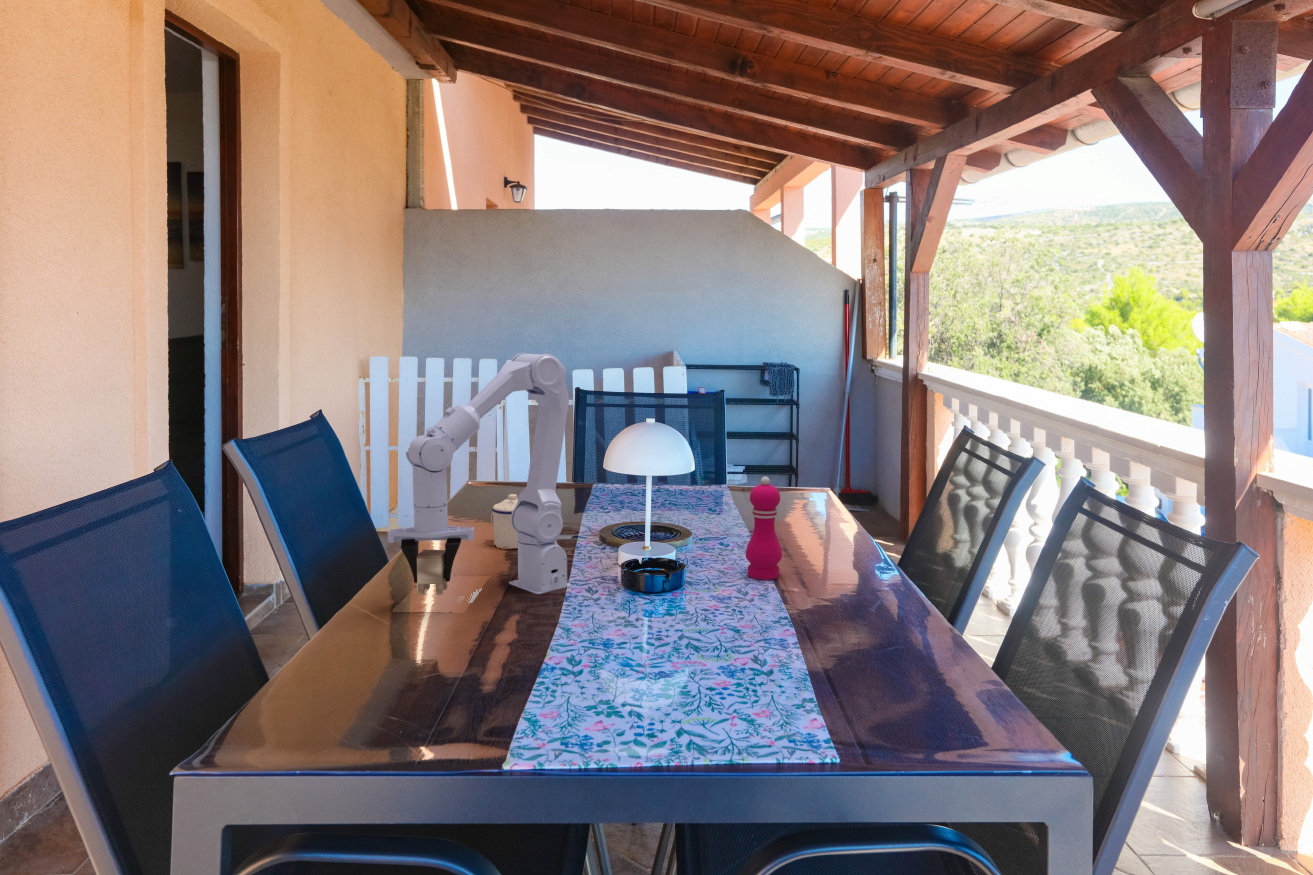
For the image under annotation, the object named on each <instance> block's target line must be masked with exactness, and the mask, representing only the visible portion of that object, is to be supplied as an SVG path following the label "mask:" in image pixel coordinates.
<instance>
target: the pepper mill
mask: <svg viewBox="0 0 1313 875" xmlns="http://www.w3.org/2000/svg"><path fill="white" fill-rule="evenodd" d="M760 483H761V484H758V485H755V486H754V487H753V488H752V489H751V491H750V494H749V501H750V504H751V505H752V506H753V508H752V509H751V511H752V512H751V516H752V517H753V521H754V525H753V532H752V534H751V536H750V539H749V541H748V542H747V545H746V548H745V558H746V560H747V561H748V562H749V564H748V566H747V576H748V577H749V578H750V579H751V578H752V579H755V580H761V581H764V580H766V581H769V580H770V581H771V580H774V579H777V578H779V577H780V567H779V566H778V563H780V561H781V560H782V558H783V551H782V546H781V544H780V540H779V539H778V537H777V532H776V528H775V526H776V525H775V521H776V517H778V509H777V507H778V505H779V504H780V502H781V493H780V491H779V490H778V488H777V487H775V486H774V485H772V484H771V482H770V478H769V477H768V476H762V478H761V479H760Z"/></svg>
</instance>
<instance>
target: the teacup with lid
mask: <svg viewBox="0 0 1313 875" xmlns="http://www.w3.org/2000/svg"><path fill="white" fill-rule="evenodd" d="M517 502H518V495H517V494H515V493H510V494H509V495H507V498H506V499H504V500H502V501H501V502H499V503H496V504H494V505H493V506H492V513H491V515H490V521H491V526H492V528H493V546H494V545H496V546H498V547H501V548H518V538H517V531H515V530H514V528H513V527H512V524H511V514H512V511H513V509H514V508H515V506H516V504H517Z"/></svg>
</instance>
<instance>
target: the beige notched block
mask: <svg viewBox="0 0 1313 875" xmlns="http://www.w3.org/2000/svg"><path fill="white" fill-rule="evenodd" d="M445 576H446V553H445V549H423V550H421V551H420V552H418V555H417V583H416V585H417V591H418V595H424V594H425V590H429V588H430V584H436V595H441V596H442V594H443V590H447V589H448V582H446V577H445Z"/></svg>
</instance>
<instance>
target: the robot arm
mask: <svg viewBox="0 0 1313 875" xmlns="http://www.w3.org/2000/svg"><path fill="white" fill-rule="evenodd" d="M566 372H567V369H566V368H565V366H564V365H563V364H562V363H561V361H560V359H559V358H557V357H556V356H554V355H552V354H551V353H546V354H545V353H543V354H537V353H528V352H519V353H517V354H516V355H514V356H513V357H512V358H511V360H509V361H507V362H506V363H504V365H503V366H502V367H501V369H500V371H499V372H498V373H497V374H496V375H495V376H494V377H493V378H492V379H491V380H490V381H489V382H488V383H487V384H486V385H485V386H484V387H483V388H482V389H481V390H480V391H479V392H478V393H477V394H476V395H475V396H474V397H473V398H472V399H471V400H470V401H469V402H468V403H467V404H466V405H461V404H458V405H455V406H454V407H452V406H450V407H448V408H447V409H446V410H445V416H443V417H442V418H441V419H440V420H439V421H438V422H437V423H435V424H434V425H433V426H429V427H427V428H426V429H425V432H426V434H422V435H418V436H416V437H415V438H413V439H412V440H411V442H410V443H409V447H408V448H407V450H406V452H405V456H406V460H407V461H408V463H410V464H411V466H412V494H413V495H412V497H413V498H412V499H413V502H412V504H413V527H403V528H396V529H395V528H392V529H390V528H389V530H388V531H387V543H390V544H391V543H395V542H401V545H400V549H401V552H402V553H403V555H404V556H405V559H406V561H407V562H408V565H409V567H410V570H411V574H412V578H413V583H415V584H417V555H418V554H419V547H420V546H419V545H420V544H419V542H423V541H424V542H425V541H426V542H427V541H430V542H431V541H445V543H444V550H445V553H446V576H445V577H446V582H450V579H451V575H452V570H453V566H454V561H455V558H456V556H457V553H458V550H459V548H460V546H461V543H462V540H467V541H474V540H475V527H474V526H454V525H453V526H450V525H449V523H448V522H449V516H448V514H449V512H448V479H447V478H448V476H447V475H448V474H447V467H449V466H450V464H451V463H452V461H453V457H454V453H455V452H456V451H457V450H459V449H460V447H461V446H463V445H464V444H465V443H466V442H467V441H468V440H469V439H470V438H471V437H472V436H473V435H474V434H476V432H478V431H479V430H480V425H481V424H480V423H481V419H482V418H483V417H485V415H487V414H488V413H490V412H491V410H493V409H494V408H495V407H496V406H498V405H499V404H500V403H501V402H502V401H503V400H505V399H506V398H507V397H508V396H510V394H512V393H513V392H520V391H522V392H523V391H526V392H527V393H528V394H529V395H530V396H531V397H532V398H533V399H534V401H535V402H536V404H538V411H537V415H536V416H537V418H536V422H535V430H534V437H533V443H532V449H531V456H530V463H529V468H528V474H527V476H528V477H527V483H526V487H525V488H523V490H522V491H521V492H520V493H519V494H518V495H517V498H518V502H517V504H516V506H515V508H514V509H513V511H512V514H511V524H512V527H513V528H514V530H515V531H517V538H518V550H517V574H518V575H517V578H518V579H515V580H512V581H509V582H508V584H509V585H511V586H514V587H516V588H520V589H522V590H525V591H527V592H530V593H533V594H535V595H541V594H544V593H548V592H552V591H556V590H560V589H564V588H568V587H571V583H569V582H568V556H567V552H566V550H565V549H564V548H563V547H561V546H560V545H559V544H558V537H559V536H560V535H561V533H562V530H563V526H564V521H563V515H562V505H563V504H562V501H561V500H560V498H559V496H558V494H557V493H556V488H557V483H558V476H559V470H560V469H559V468H560V463H561V455H562V450H563V445H564V444H563V443H564V436H565V430H566V425H567V416H568V410H569V406H570V397H569V396H570V395H569V392H568V388H567V383H566V381H565V380H566V379H565V378H566Z"/></svg>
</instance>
